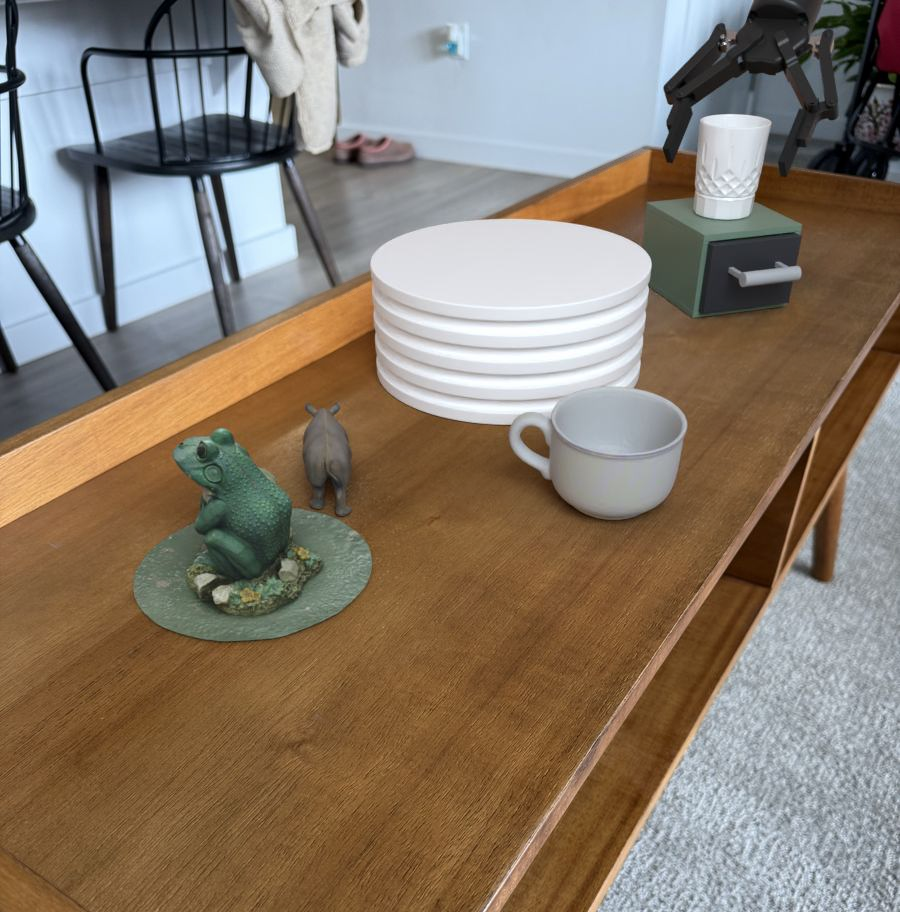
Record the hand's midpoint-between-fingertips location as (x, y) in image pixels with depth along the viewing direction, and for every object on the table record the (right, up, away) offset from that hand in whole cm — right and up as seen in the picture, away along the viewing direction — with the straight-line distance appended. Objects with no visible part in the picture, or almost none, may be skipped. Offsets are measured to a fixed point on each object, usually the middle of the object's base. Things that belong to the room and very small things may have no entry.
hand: (723, 162), depth 110 cm
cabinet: (+1, -11, +11) cm, 16 cm away
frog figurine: (-46, -48, -36) cm, 76 cm away
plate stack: (-25, -25, -6) cm, 36 cm away
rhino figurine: (-42, -39, -25) cm, 63 cm away
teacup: (-19, -42, -29) cm, 54 cm away
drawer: (+3, -13, +7) cm, 15 cm away
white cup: (+1, -4, +5) cm, 7 cm away
